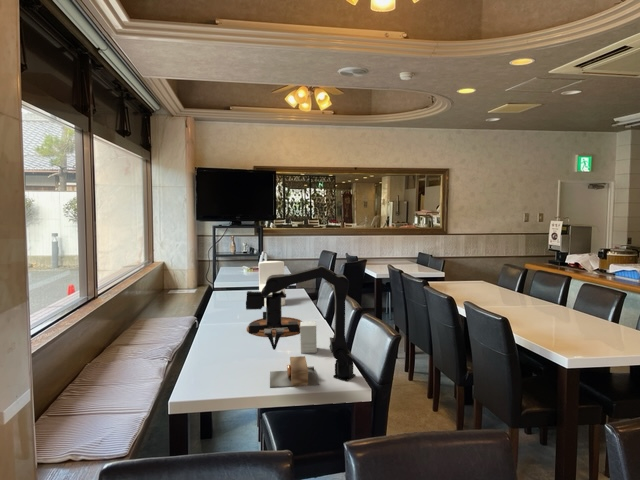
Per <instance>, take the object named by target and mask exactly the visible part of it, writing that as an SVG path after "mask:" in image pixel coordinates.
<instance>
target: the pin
mask: <svg viewBox="0 0 640 480" xmlns="http://www.w3.org/2000/svg"><path fill="white" fill-rule="evenodd" d="M307 367H308V374H314V369H315V366H307ZM286 371H287V377H288V378H289V377H291V365H290V364H286Z"/></svg>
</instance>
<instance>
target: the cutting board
mask: <svg viewBox="0 0 640 480" xmlns="http://www.w3.org/2000/svg"><path fill="white" fill-rule="evenodd" d="M288 321H297V322H298V323H299V332H290V331H289V329H284V335H281V336H280V338H285V337H286V338H287V337H291V336H296V335H300V322H304V321H303V320H300V319H299V318H296V317H290V316H289V317H287V316H282V324H288ZM252 322H260V325H266V320H263V317H262V318H258V319H255V320H253V321H252ZM246 332H247V333H248V334H249V324H248V325H247V327H246ZM272 333H273V338H275V334H276V330H272ZM251 335H252V336H256V337H262V338H268V336H267V335H264V330H259V332H258V333H257V334H251Z"/></svg>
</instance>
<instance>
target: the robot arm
mask: <svg viewBox="0 0 640 480" xmlns="http://www.w3.org/2000/svg"><path fill="white" fill-rule="evenodd" d="M319 278H322V279H323V280H324V281H326V282H328V283H330V285H332V291H333V295H334V334H333V337H329V343H330V344H329V347H328V348H329V350H330V353H332V355H333V358H334V359H335V363H334V375H333V378H335V379H338V380H341V381H345V382H348V381H349V380H351V379H353V378H355V377H356V374H355V373H354V358H353V356H352V353H351V351H350V350H349V349H348V344H347V339H346V335H345V334H346V299H347V296H348V292H349V287H350V282H349V279H348V278H347V277H346V276H345V275H344V274H341V273H338V274H337V273H336V272H333V271H332V270H330V269H328V268H326V266H323V265H318V266H316V267H312V268H307V269H304V270H300V271H297V272H293V273H287V274H286V273H284V274H279V275H271V276H269V277H268V279H267V281H266V285H265V287H264V288H263V289H262V292H259V291H252V290H251V291H250V290H247V291H246V301H245V309H246V311H250V310H255V311H256V310H262V308H264V304H265V299H264V298H266V307H265V310H266V311H262V318H263V320H266V325H260V322H253V321H251V322H250V323H249V324H248V325H249V333H248V334H250V335H252V334H257V333H258V332H259V330H264V335H267V336H268V337H267V338H268V340H269V342H270V344H271V345H270V346H271V348H272V350H273V351H274V350H275V351H276V349H277V345H278V342H279V340H280V338H281V337H280V336H281V335H284V329H289V331H290V332H299V323H298V322H297V321H288V324H282V317H283V316H282V306H281V298H285V299H286V298H287V293H286V292H285V293H284V292H283V291H282V289H284V288H285V289H286V288H288V287H290V286H292V285H296V284H300V283H304V282H308V281H312V280H316V279H319ZM280 290H281V292H279V293H276V292H278V291H280ZM270 293H272V295H269V294H270ZM272 330H276V334H275V337H273V333H272Z"/></svg>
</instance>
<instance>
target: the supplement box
mask: <svg viewBox="0 0 640 480" xmlns="http://www.w3.org/2000/svg"><path fill="white" fill-rule="evenodd" d="M316 323H317V321H303V322H300V333H299V335H300V336H299V341H300V353H301V354H313V353H314V354H316V353H317V352H318V351H317V324H316Z"/></svg>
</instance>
